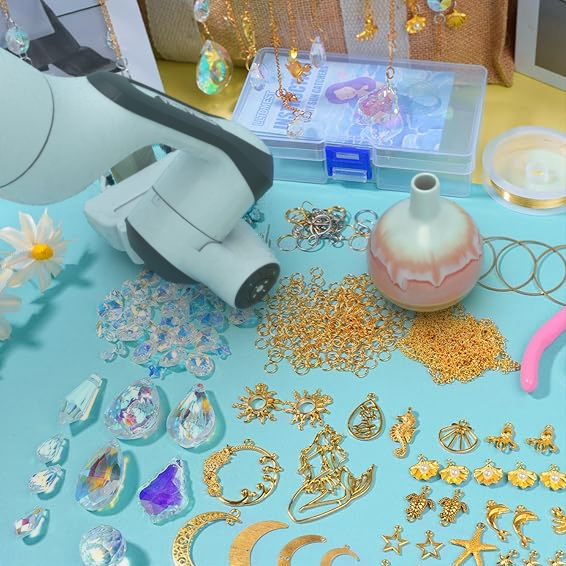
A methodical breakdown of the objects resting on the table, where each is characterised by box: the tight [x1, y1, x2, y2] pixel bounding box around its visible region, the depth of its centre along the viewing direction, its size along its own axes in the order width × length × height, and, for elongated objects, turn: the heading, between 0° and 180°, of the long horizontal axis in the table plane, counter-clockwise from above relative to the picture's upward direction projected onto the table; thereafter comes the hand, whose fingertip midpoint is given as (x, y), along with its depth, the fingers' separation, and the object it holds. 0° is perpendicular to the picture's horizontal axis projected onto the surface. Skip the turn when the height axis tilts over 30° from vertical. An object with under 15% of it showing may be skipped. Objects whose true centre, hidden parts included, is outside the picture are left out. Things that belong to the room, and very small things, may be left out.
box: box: [109, 144, 158, 184], centre depth 110 cm, size 5×4×11 cm
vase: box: [365, 171, 485, 313], centre depth 94 cm, size 14×14×18 cm
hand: (132, 157), depth 110 cm, fingers open, 8 cm apart
